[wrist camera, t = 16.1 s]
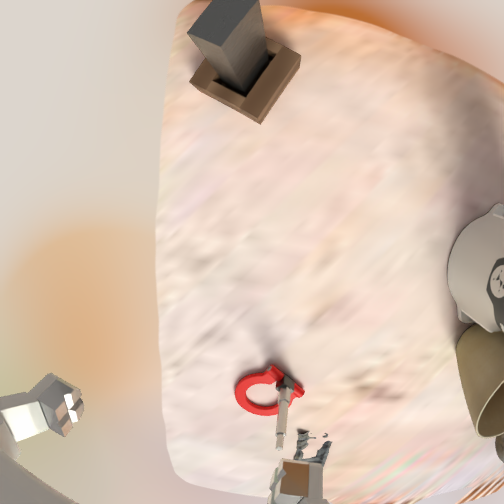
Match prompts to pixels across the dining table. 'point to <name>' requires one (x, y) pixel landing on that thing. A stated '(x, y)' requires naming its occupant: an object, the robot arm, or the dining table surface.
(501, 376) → the plant pot
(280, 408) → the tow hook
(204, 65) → the brown square socket block
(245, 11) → the gray rectangular bar
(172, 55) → the dining table surface
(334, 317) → the dining table surface
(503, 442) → the gourd
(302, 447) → the driftwood
